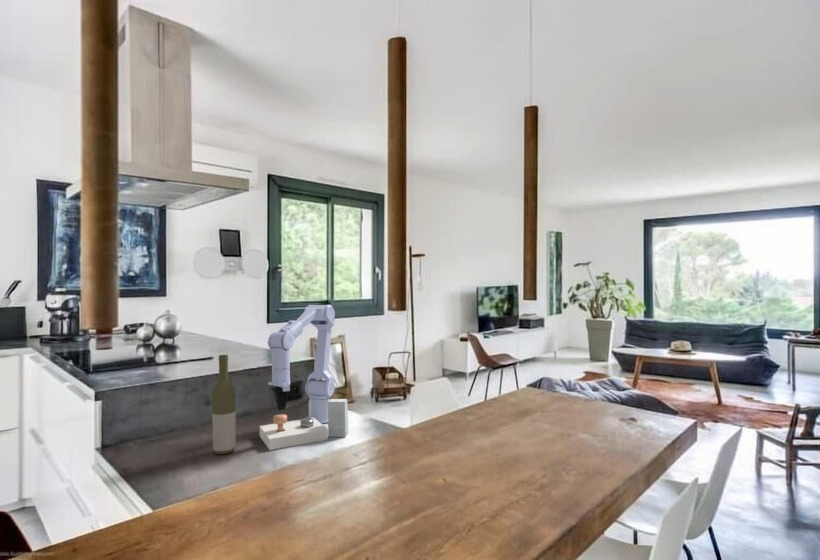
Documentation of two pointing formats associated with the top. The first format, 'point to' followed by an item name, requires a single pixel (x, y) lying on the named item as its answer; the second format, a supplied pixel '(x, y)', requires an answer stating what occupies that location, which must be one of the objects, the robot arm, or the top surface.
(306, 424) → the plug
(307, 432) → the panel
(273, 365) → the robot arm
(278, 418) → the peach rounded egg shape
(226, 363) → the bottle
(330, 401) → the skincare box
